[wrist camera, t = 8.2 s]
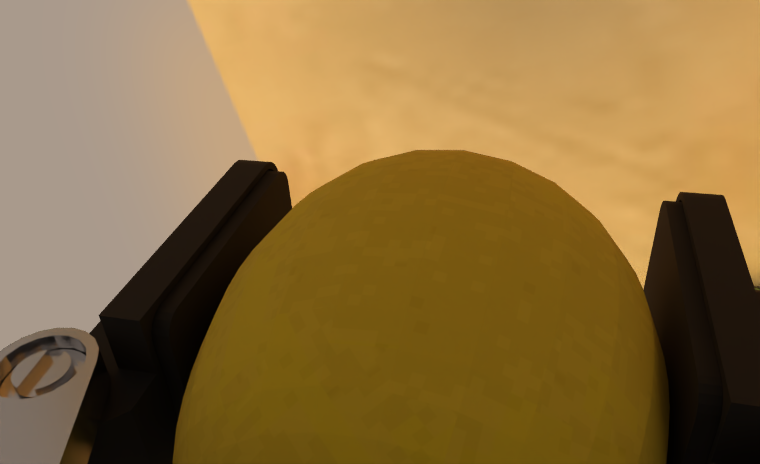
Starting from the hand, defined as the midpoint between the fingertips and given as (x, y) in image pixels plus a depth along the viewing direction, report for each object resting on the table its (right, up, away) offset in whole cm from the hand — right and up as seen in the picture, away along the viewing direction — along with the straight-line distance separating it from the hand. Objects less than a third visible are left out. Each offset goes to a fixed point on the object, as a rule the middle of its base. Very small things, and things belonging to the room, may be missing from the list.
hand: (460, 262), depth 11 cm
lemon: (0, +1, +1) cm, 1 cm away
